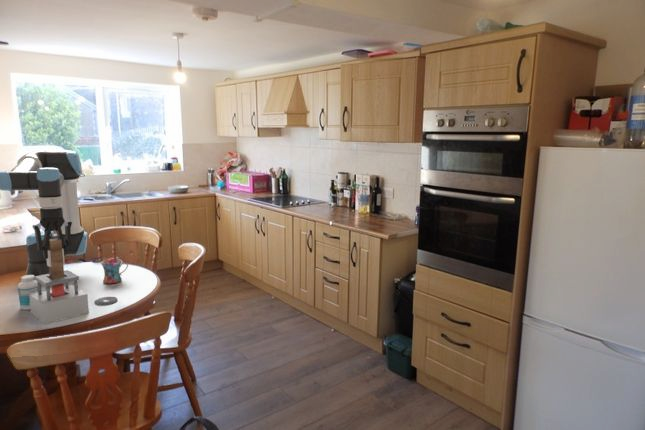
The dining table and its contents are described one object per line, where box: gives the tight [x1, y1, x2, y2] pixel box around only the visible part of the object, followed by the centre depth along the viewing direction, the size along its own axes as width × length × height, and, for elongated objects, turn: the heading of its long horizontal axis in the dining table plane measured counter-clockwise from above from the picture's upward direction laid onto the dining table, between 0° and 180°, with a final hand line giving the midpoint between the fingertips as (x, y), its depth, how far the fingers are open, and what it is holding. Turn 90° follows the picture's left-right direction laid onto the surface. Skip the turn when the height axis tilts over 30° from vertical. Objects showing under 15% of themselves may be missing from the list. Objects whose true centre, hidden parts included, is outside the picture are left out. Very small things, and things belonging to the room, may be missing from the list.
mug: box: [100, 258, 129, 284], centre depth 214 cm, size 12×9×11 cm
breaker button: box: [50, 283, 65, 298], centre depth 174 cm, size 4×4×8 cm
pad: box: [94, 296, 118, 306], centre depth 188 cm, size 9×9×1 cm
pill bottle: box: [17, 275, 38, 311], centre depth 179 cm, size 8×7×14 cm
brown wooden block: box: [48, 238, 65, 285], centre depth 172 cm, size 4×4×18 cm
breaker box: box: [29, 269, 90, 325], centre depth 174 cm, size 16×16×16 cm
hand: (55, 264), depth 172 cm, fingers closed on brown wooden block, 4 cm apart
